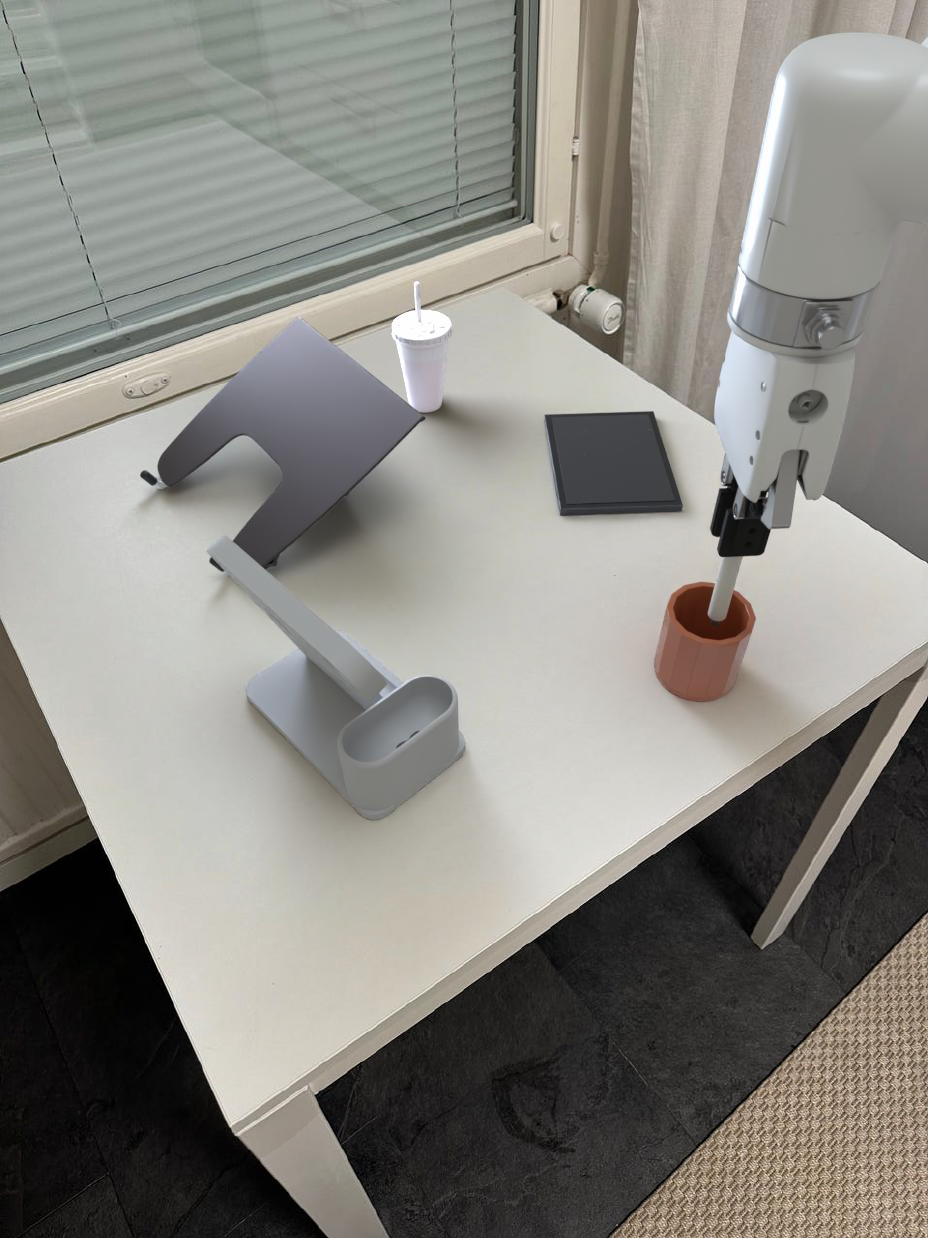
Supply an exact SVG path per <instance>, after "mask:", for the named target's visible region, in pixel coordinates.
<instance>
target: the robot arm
mask: <svg viewBox="0 0 928 1238" xmlns="http://www.w3.org/2000/svg"><path fill="white" fill-rule="evenodd" d="M772 88H773V89H772V93H771V97H770V101H769V106H768V111H767V117H766V122H765V127H764V132H763V136H762V137H763V138H762V143H761V147H760V150H759V151H760V152H759V157H758V161H757V166H756V171H755V175H754V181H753V186H752V191H751V197H750V201H749V206H748V211H747V216H746V221H745V225H744V230H743V235H742V241H741V245H740V249H739V257H738V260H737V263H736V264H737V265H736V269H735V274H734V280H733V284H732V289H731V294H730V299H729V304H728V308H727V313H726V322H727V325H728V326H729V329H730V330H731V332H730V335H729V339H728V342H727V346H726V350H725V354H724V358H723V360H722V361H723V363H722V365H721V370H720V374H719V378H718V385H717V388H716V394H715V399H714V400H715V401H714V408H713V409H714V410H713V417H714V419H713V420H714V424H715V429H716V431H717V432H716V433H717V434H718V438H719V440H720V442H721V446H722V448H723V451H724V455H723V461H722V464H721V465H722V466H721V470H720V483H721V486H722V487H720V488H718V493H717V496H716V500H715V504H714V505H715V506H714V510H713V512H712V513H713V514H712V518H711V522H710V527H709V530H710V533H711V536H713V537H716V538H719V539H718V543H717V547H716V551H717V554H718V556H719V557H720V558H722V557H742V556H743V557H759V556H762V555H763V554H764V553H765V551H766V548H767V546H768V545H767V544H768V541H769V537H770V535H771V531H772V530H784V529H790V528H791V525H792V519H793V512H794V505H795V498H796V491H797V483H798V485H799V487H800V489H801V491H802V493H803V496H804V497H805V500H806V501H811V500H812V501H818V500H819V499H820V498H821V497H823V494H824V493H825V490H826V487H827V484H828V482H829V478H830V475H831V472H832V468H833V465H834V461H835V458H836V455H837V452H838V447H839V444H840V440H841V436H842V432H843V428H844V425H845V420H846V416H847V411H848V407H849V403H850V397H851V391H852V384H853V379H854V372H855V362H856V356H857V355H856V350H855V346H857V344H858V343H860V341H861V340H862V338H863V336H864V334H865V333H864V332H865V329H866V326H867V323H868V320H869V317H870V313H871V311H872V307H873V305H874V302H875V299H876V296H877V292H878V289H879V286H880V284H881V281H882V278H883V274H884V272H885V268H886V267H887V263H888V259H889V256H890V255H891V254H890V253H891V250H892V248H893V244H894V242H895V238H896V235H897V233H898V230H899V226H900V223H901V222H910V223H915V224H920V225H926V226H928V36H927V37H926V38H925V39H923V41H922V42H921V43H918V42H916V41H914V40H911V39H908V38H905V37H901V36H897V35H892V34H887V33H877V32H862V31H861V32H859V31H857V32H854V31H851V32H850V31H849V32H836V33H831V34H830V33H829V34H825V35H820V36H816V37H813V38H809V39H808V40H805V41H804V42H802V43H801V44H799V45H798V46H796V47H795V48H793V49H792V50H791V51H790V53H789V54H787V56H786V57H785V58H784V59H783V61H782V63H781V64H780V66H779V69H778V71H777V73H776V76H775V81H774V85H773V87H772ZM723 487H724V488H723Z"/></svg>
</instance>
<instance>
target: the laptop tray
mask: <svg viewBox="0 0 928 1238" xmlns="http://www.w3.org/2000/svg"><path fill="white" fill-rule="evenodd" d="M424 421H426V416H425V415H423V414H422V412H418V411H417V410H416V409H415V408H413V407H412V406H411V405H410V404H409V402H408V401H406V400H405V399H403V398H402V397H401V396H400V395H398V394H397V393H396V392H394V390H392V389H391V388H390V387H389V386H387V385H386V384H385V383H383V382H382V381H381V380H380V379H378V378H377V377H376V376H375V375H373V374H372V373H371V372H370V371H368V370H367V369H365V367H363V366H362V365H361V364H360V363H359V362H357V360H355V359H353V358H352V357H351V356H350V355H348V354H347V353H345V352H344V351H343V350H342V349H341V348H339V346H337V345H336V344H334V343H333V342H332V341H331V340H330V339H328V338H327V337H326V336H325V335H324V334H322V333H321V332H320V331H318V330H317V329H316V328H315V327H313V326H312V325H311V324H309V323H308V322H307V321H306V320H304V319H303V318H302V317H301V316H297V317H296V318H294V319H293V320H292V321H291V322H290V323H289V324H288V325H287V326H285V328H284V329H282V331H281V332H279V333H278V334H277V335H276V336H275V337H273V339H272V340H271V341H270V342H269V343H267V344H266V345H265V346H264V347H263V348H262V349H261V350H260V351H259V352H258V353H257V354H256V355H255V356H254V357H253V358H252V359H251V360H250V361H249V362H247V364H246V365H244V367H242V368H241V370H240V371H238V372H237V374H236V375H234V377H232V378H231V379H230V381H229V382H227V384H225V385H224V386H223V387H222V388H221V389H220V390H219V392H217V393H216V394H215V396H213V397H212V399H211V400H209V401H208V403H207V404H205V405H204V407H203V408H202V409H200V411H199V412H198V413H197V414H196V415H195V416H194V417H193V418H192V419H191V420H190V421H189V423H188V424H187V425H185V427H184V428H183V429H182V430H181V432H179V434H178V435H177V436H176V437H175V438H174V439H173V440H172V441H171V443H170V444H169V445H168V446H167V447H166V448H165V449H164V451H163V452H162V454H161V455H160V457H159V459H158V462H157V473H158V475H159V477H160V479H161V480H158V478H157V477H156V476H154V475H153V474H152V473H150V472H149V471H148V470H147V469H143V470H142V471H140V474H139V476H140V478H141V479H143V481H145V482H146V483H147V484H148V485H150V486H152V487H153V488H155V489H156V490H163V489H166V488H167V487H168V488H172V487H173V488H174V487H175V486H177V485H178V484H180V483H181V482H182V481H183V480H185V479H186V478H187V477H188V476H190V475H191V474H192V473H194V472H195V471H197V470H198V469H199V468H200V467H202V466H203V465H205V464H206V463H207V462H208V461H209V460H210V459H212V458H213V457H214V456H216V454H217V453H219V452H220V451H221V450H223V448H224V447H226V446H227V445H228V444H230V442H232V441H233V440H234V439H237V438H238V437H242V436H247V437H249V438H250V439H252V440H253V441H254V443H256V444H257V445H258V446H259V447H260V448H261V449H262V450H263V451H264V452H265V453H266V454H267V455H268V456H269V457H270V458H271V459H272V460H273V461H274V462H275V463H276V464H277V465H278V467H279V468H280V469H281V472H282V477H281V481H280V483H279V485H278V486H277V488H276V489H275V490H274V491H273V492H272V494H270V496H268V497H267V499H266V500H265V501H264V502H263V503H262V504H261V505H260V507H258V509H257V510H256V511H255V513H254V514H253V515H252V516H251V517H250V518H249V520H248V521H247V522H246V523H245V524H244V525H243V527H242V528H241V529H240V530H239V532H238V533H237V534H236V536H235V537H234V538H233V540H232V541H233V542H234V543H235V544H236V545H238V546H239V547H240V548H241V549H242V550H243V551H244V552H246V553H247V554H248V555H249V556H250V557H251V558H252V559H254V560H255V561H256V562H257V563H258V564H259V565H260V566H262V567H263V568H264V569H265V570H266V571H267V570H268V569H269V568H275V567H277V566H278V558H279V557H280V555H281V554H282V553H283V552H285V551H286V550H287V549H288V548H289V547H290V546H292V545H293V544H294V543H295V542H296V541H297V540H299V539H300V538H301V537H302V536H303V535H304V534H306V533H307V532H308V531H309V530H310V529H312V527H314V526H315V525H316V524H317V523H318V522H319V521H321V519H323V518H324V517H325V516H326V515H328V513H329V512H330V511H332V509H333V508H334V507H336V506H337V505H338V504H339V503H340V502H341V501H342V500H343V499H344V498H345V497H348V495H349V494H350V493H351V492H352V490H353V489H355V488H356V487H357V486H358V485H359V484H360V483H361V482H362V481H363V480H364V479H365V478H366V477H367V476H368V475H369V474H370V473H372V471H373V470H375V469H376V467H378V466H379V465H380V464H381V462H382V461H384V459H386V458H387V457H388V456H389V455H390V454H391V453H392V452H393V451H394V449H395V448H397V447H398V445H400V444H401V443H402V441H404V440H405V438H406V437H407V436H408V435H409V434H410V433H412V431H413V430H414V429H416V427H417V426H418V425H419V424H420V423H422V422H424ZM208 561H209V564H210V565H211V566H213V567H214V568H215V569H217V570H218V571H219V572H221V573H223V574H224V575H228V574H227V573H226V572H225V571H224V570H223V568H222V567H221V566H220V565H219V564H218V563H217V562H216V561H215V560H214V559H213V558H212V557H211V556H210V557H209V560H208Z"/></svg>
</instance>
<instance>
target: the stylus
mask: <svg viewBox="0 0 928 1238" xmlns="http://www.w3.org/2000/svg"><path fill="white" fill-rule="evenodd" d="M720 558H721V559H720V563H719V567H718V571H717V575H716V579H715V582H714V583H715V586H714V590H713V594H712V598H711V602H710V606H709V610H708V616H709V618H710V619H711V621H710V624H711V625H712V626H714V627H717V626H719V623H720V621H723V620H724V619H725V618H726V616H727V612H728V608H729V605H730V601H731V597H732V594H733V590H735V586H736V582H737V579H738V576H739V572H740V569H741V564H742V562H743V558H744V556H742V557H720Z"/></svg>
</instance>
